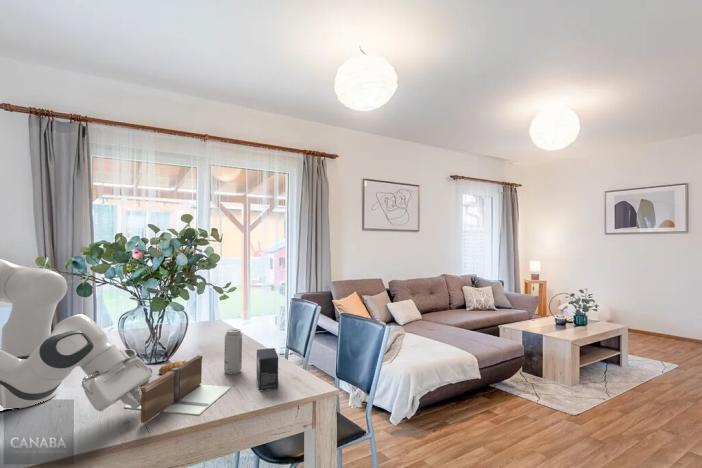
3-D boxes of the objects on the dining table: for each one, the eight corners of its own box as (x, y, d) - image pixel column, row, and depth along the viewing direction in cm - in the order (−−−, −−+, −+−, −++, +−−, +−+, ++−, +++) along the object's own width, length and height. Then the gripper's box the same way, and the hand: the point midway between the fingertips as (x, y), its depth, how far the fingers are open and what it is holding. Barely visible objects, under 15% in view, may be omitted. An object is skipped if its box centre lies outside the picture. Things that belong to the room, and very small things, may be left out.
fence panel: (140, 422, 97) (140, 387, 97) (169, 402, 109) (169, 371, 109) (145, 423, 97) (146, 388, 97) (174, 402, 109) (174, 371, 109)
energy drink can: (224, 369, 138) (225, 328, 138) (241, 368, 140) (242, 328, 140) (223, 375, 132) (224, 333, 133) (241, 374, 134) (242, 332, 134)
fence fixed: (168, 404, 109) (169, 370, 109) (196, 385, 124) (197, 354, 124) (175, 405, 109) (176, 370, 109) (202, 385, 123) (203, 355, 123)
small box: (255, 379, 130) (255, 348, 130) (274, 377, 132) (274, 347, 132) (258, 391, 120) (258, 358, 120) (278, 389, 122) (279, 356, 122)
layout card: (123, 408, 107) (123, 406, 107) (166, 382, 125) (166, 381, 125) (199, 415, 103) (199, 413, 103) (231, 387, 122) (231, 386, 122)
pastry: (158, 377, 130) (158, 366, 130) (159, 371, 136) (159, 360, 137) (187, 374, 134) (187, 363, 134) (187, 368, 140) (187, 357, 140)
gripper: (88, 371, 90) (125, 416, 89) (137, 347, 110) (167, 383, 110) (68, 389, 90) (105, 433, 89) (121, 361, 110) (151, 397, 110)
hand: (140, 405), depth 100 cm, fingers closed
